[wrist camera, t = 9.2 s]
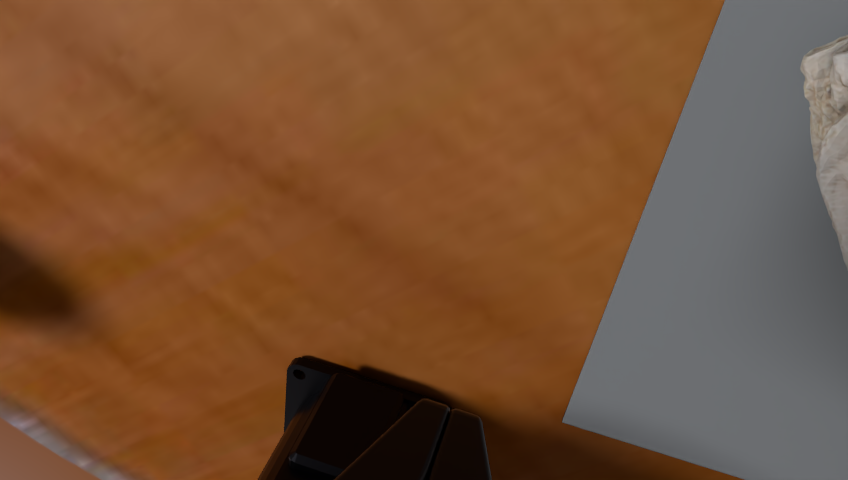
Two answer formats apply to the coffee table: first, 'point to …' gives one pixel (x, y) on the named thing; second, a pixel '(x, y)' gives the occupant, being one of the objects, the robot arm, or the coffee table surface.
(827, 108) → the washcloth
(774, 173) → the mat
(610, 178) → the coffee table surface
